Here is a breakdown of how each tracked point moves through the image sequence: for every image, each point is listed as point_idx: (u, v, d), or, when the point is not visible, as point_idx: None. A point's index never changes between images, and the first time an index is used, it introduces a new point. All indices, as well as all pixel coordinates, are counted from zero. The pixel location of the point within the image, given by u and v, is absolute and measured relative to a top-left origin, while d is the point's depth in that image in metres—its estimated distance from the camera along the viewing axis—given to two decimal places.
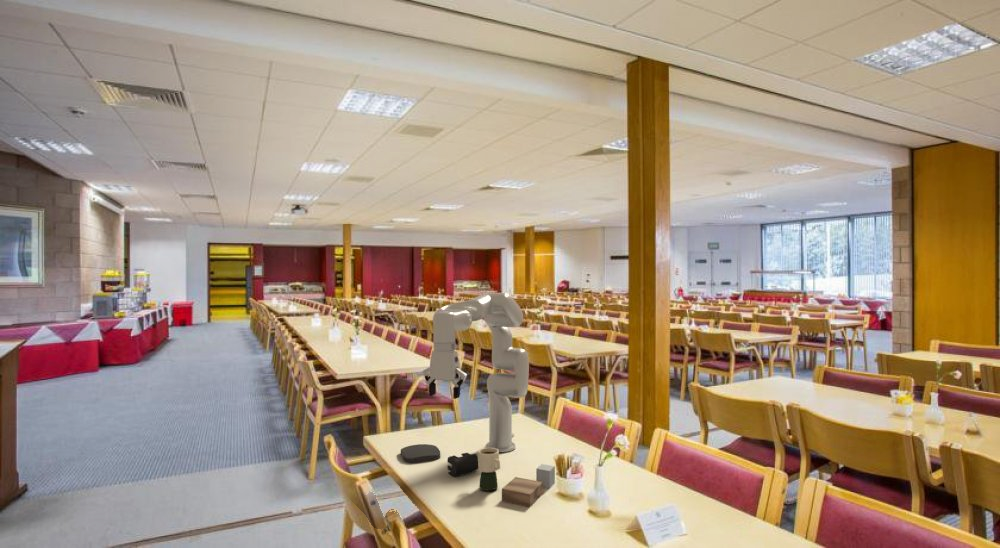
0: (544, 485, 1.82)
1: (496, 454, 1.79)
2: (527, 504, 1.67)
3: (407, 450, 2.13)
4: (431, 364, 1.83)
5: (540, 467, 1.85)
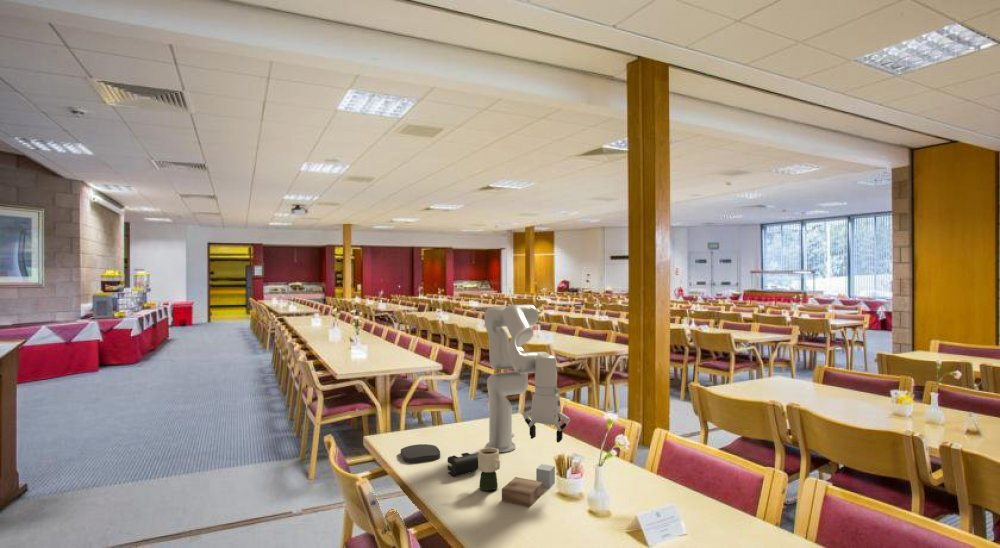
0: (544, 485, 1.82)
1: (496, 454, 1.79)
2: (527, 504, 1.67)
3: (407, 450, 2.13)
4: (533, 407, 1.84)
5: (540, 467, 1.85)
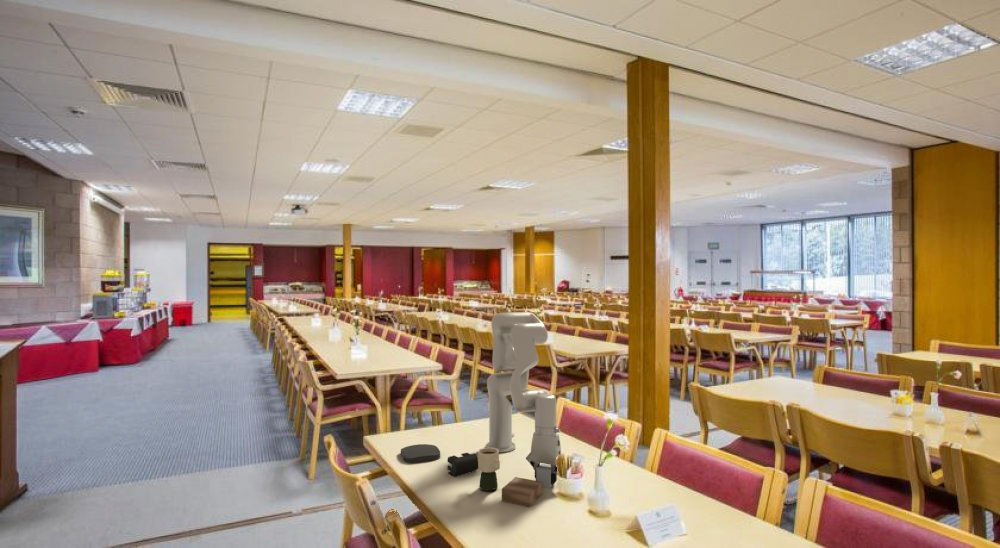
0: (544, 485, 1.82)
1: (496, 454, 1.79)
2: (527, 504, 1.67)
3: (407, 450, 2.13)
4: (533, 447, 1.84)
5: (540, 467, 1.85)
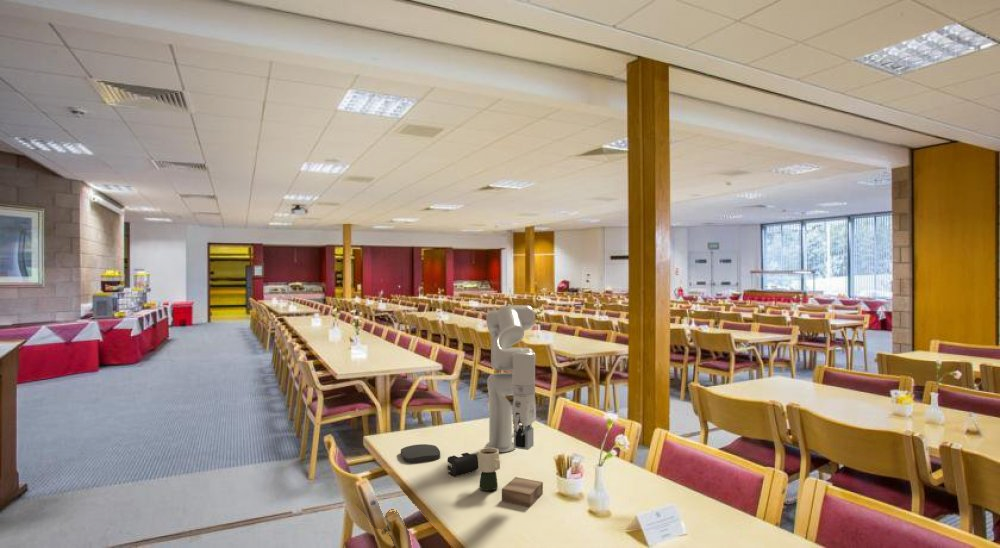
0: None
1: (496, 454, 1.79)
2: (527, 504, 1.67)
3: (407, 450, 2.13)
4: None
5: None
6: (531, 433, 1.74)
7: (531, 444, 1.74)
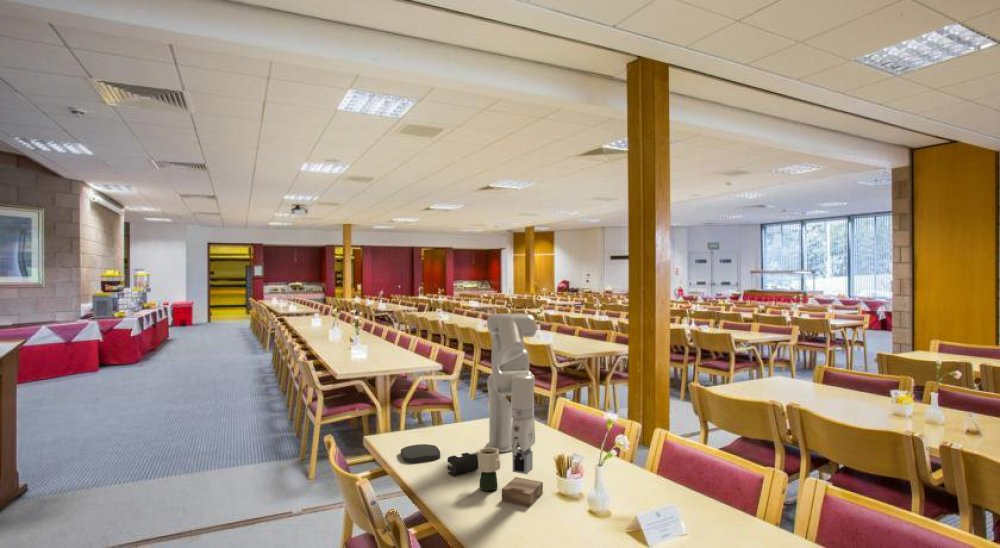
0: None
1: (496, 454, 1.79)
2: (527, 504, 1.67)
3: (407, 450, 2.13)
4: None
5: None
6: (530, 457, 1.73)
7: (530, 468, 1.73)
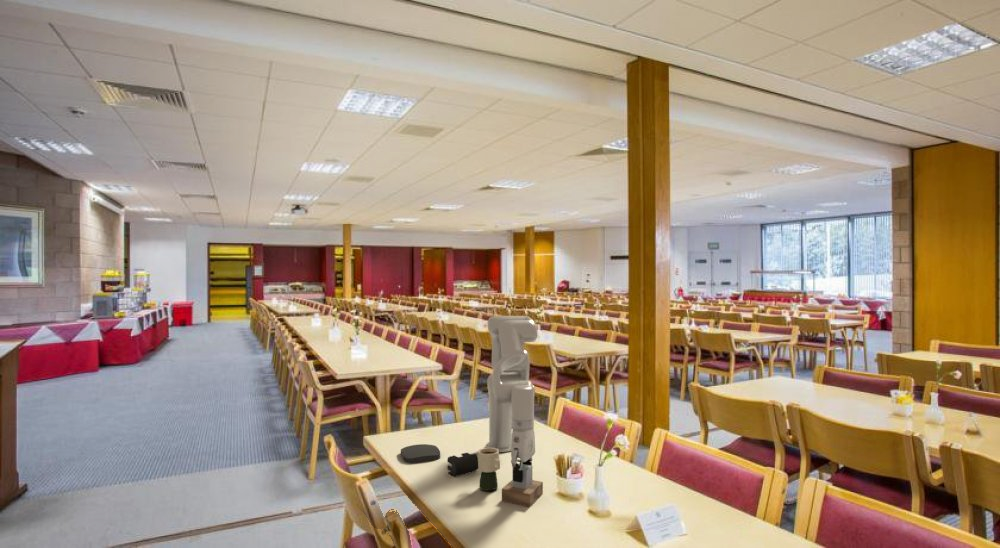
0: None
1: (496, 454, 1.79)
2: (527, 504, 1.67)
3: (407, 450, 2.13)
4: None
5: (522, 465, 1.76)
6: (530, 472, 1.74)
7: (530, 483, 1.73)
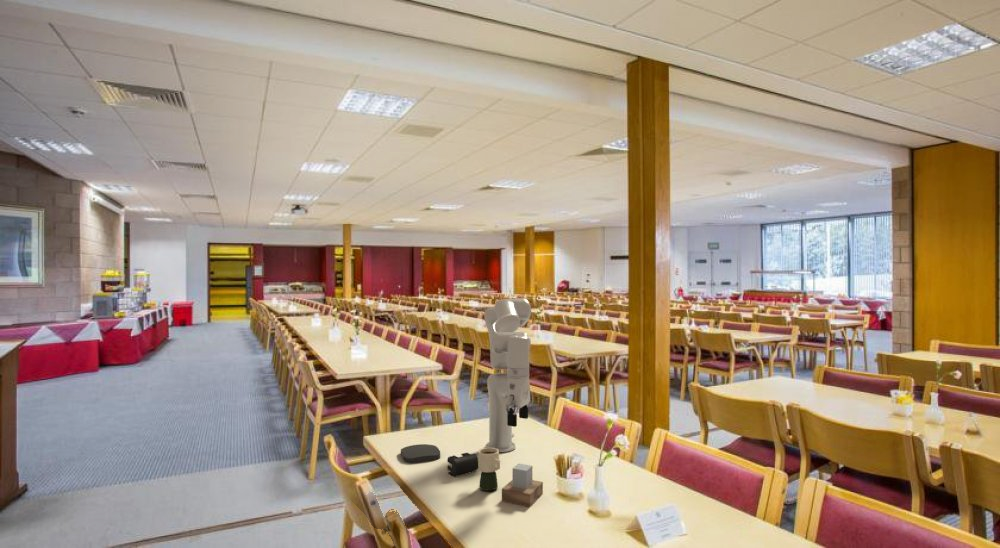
0: None
1: (496, 454, 1.79)
2: (527, 504, 1.67)
3: (407, 450, 2.13)
4: None
5: (522, 465, 1.76)
6: (530, 472, 1.74)
7: (530, 483, 1.73)
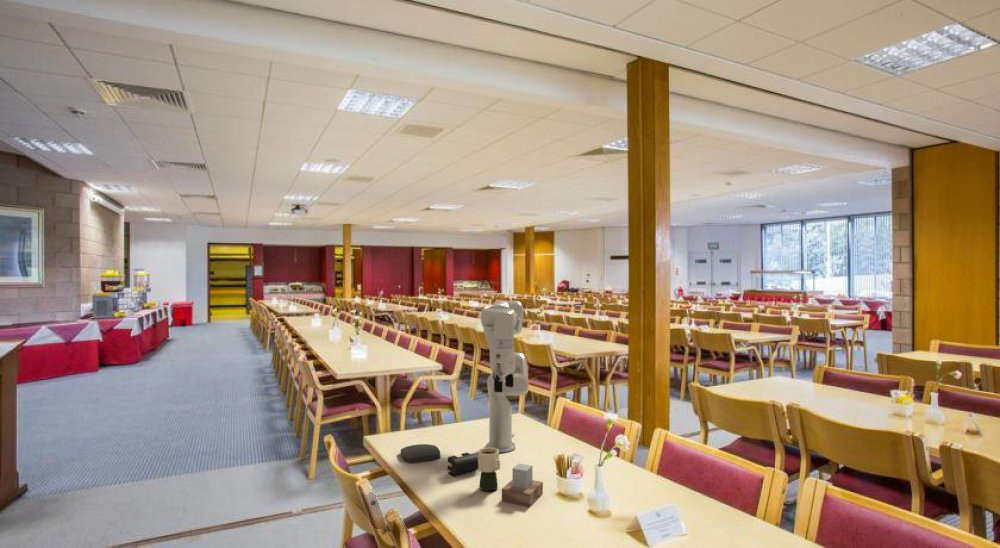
0: None
1: (496, 454, 1.79)
2: (527, 504, 1.67)
3: (407, 450, 2.13)
4: None
5: (522, 465, 1.76)
6: (530, 472, 1.74)
7: (530, 483, 1.73)
